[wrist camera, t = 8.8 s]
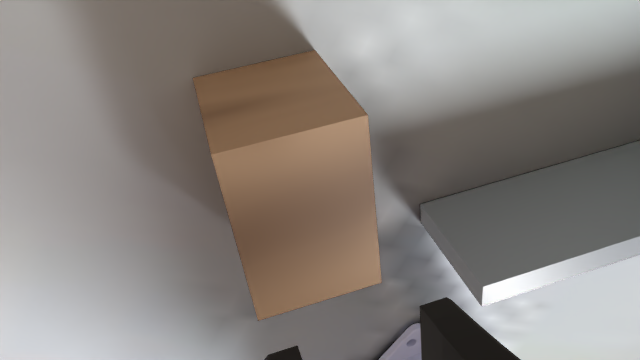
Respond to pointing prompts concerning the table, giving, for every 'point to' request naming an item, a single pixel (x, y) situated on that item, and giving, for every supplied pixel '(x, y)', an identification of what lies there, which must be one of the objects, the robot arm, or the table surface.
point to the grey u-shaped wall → (541, 224)
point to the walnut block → (293, 179)
